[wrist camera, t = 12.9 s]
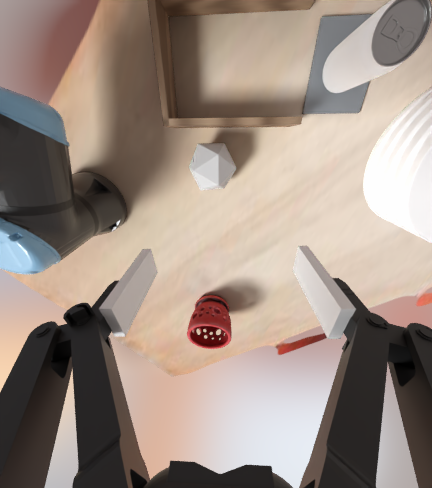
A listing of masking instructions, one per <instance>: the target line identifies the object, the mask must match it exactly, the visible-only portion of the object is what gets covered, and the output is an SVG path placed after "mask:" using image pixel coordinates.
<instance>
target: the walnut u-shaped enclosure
mask: <svg viewBox="0 0 432 488" xmlns="http://www.w3.org/2000/svg"><path fill="white" fill-rule="evenodd" d="M314 1H315V0H148V8H149V16H150V23H151V31H152V39H153V47H154V54H155V62H156V70H157V78H158V85H159V93H160V101H161V109H162V116H163V124H164V126H167V127H172V128H213V127H290V126H294V125H299V124H301V121H302V117H240V118H178V114H177V104H176V93H175V83H174V72H173V61H172V51H171V40H170V29H169V19H168V16H187V15H207V14H227V13H247V12H267V11H287V10H307V9H310V7H311V6H312V4H313V2H314Z"/></svg>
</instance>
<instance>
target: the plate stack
mask: <svg viewBox="0 0 432 488" xmlns="http://www.w3.org/2000/svg"><path fill="white" fill-rule="evenodd" d="M363 187H364V195H365V198H366V201H367V203H368V205H369V207H370V208H371V209H372V211H373V212H374V213H376V214H377V215H378V216H380V217H381V218H383V219H385V220H387V221H389V222H391V223H393V224H395V225H397V226H399V227H401V228H403V229H405V230H407V231H409V232H411V233H413V234H415V235H417V236H419V237H421V238H422V239H424V240H426V241H428V242H431V243H432V87H431V88H429V89H428V90H426V91H425V92H424V93H422V94H421V95H420V96H418V97H417V98H416V99H415V100H413V101H412V102H411V103H410V104H409V105H408V106H407V107H405V108H404V109H403V110H402V111H401V112H400V113H399V114H398V115H397V117H396V118H395V119H394V120H393V121H392V122H391V123H390V125H389V126H388V127H387V128H386V130H385V131H384V132H383V134H382V135H381V137H380V138H379V140H378V142H377V143H376V145H375V147H374V149H373V151H372V153H371V155H370V157H369V160H368V163H367V166H366V169H365V174H364V182H363Z"/></svg>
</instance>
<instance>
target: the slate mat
mask: <svg viewBox="0 0 432 488" xmlns="http://www.w3.org/2000/svg"><path fill="white" fill-rule="evenodd" d="M372 15H373V14H367V15H346V16H325V17H322V18H321V21H320V26H319V31H318V36H317V41H316V46H315V51H314V57H313V62H312V67H311V72H310V77H309V82H308V88H307V93H306V98H305V103H304V108H303V113H302V114H325V113H359V112H360V109H361V106H362V103H363V100H364V97H365V94H366V90H367V87H368V84H369V81H368V82H366V83H363V84H361V85H358V86H356V87H354V88H351V89H349V90H346V91H344V92H341V93H332V92H330V91H328V90H327V89H326V87H325V86H324V83H323V77H322V74H323V68H324V64H325V62H326V60H327V58H328V56H329V55H330V53H331V52H332V51H333V50H334V48H335V47H337V46H338V45H339V44H340V43H341V42H342V41H343V40H344V39H345V38H347V37H348V36H349V35H350V34H351V33H352V32H353V31H355V30H356V29H357V28H358V27H359V26H360V25H361V24H363V23H364V22H365V21H366V20H367V19H368V18H369V17H371V16H372Z"/></svg>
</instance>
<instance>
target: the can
mask: <svg viewBox="0 0 432 488" xmlns="http://www.w3.org/2000/svg"><path fill="white" fill-rule="evenodd" d="M431 18H432V6H431V2H430V0H391V1H389V2H388V3H386V4H385V5H384V6H382V7H381V8H380V9H379V10H378V11H376V12H375V13H374V14H373V15H372V16H371V17H369V18H368V19H367V20H366V21H365V22H364V23H363V24H361V25H360V26H359V27H358V28H357V29H356V30H355V31H353V32H352V33H351V34H350V35H349V36H348V37H347V38H345V39H344V40H343V41H342V42H341V43H340V44H339V45H338V46H337V47H335V48H334V50H333V51H332V52H331V53H330V55H329V56H328V58H327V60H326V62H325V64H324V68H323V74H322V77H323V83H324V86H325V87H326V89H327V90H328V91H330V92H332V93H341V92H344V91H346V90H349V89H351V88H354V87H356V86H358V85H361V84H363V83H366V82H368V81H370V80H373V79H375V78H377V77H380V76H382V75H384V74H386V73H388V72H390V71H392V70H393V69H395V68H396V67H398V66H399V65H400V64H401V63H402V62H403V61H405V60H406V59H407V58H409V57H410V56H411V55H412V54H413V53H414V52H415V51H416V50H417V48H418V47H419V46H420V44H421V43H422V41H423V40H424V38H425V36H426V34H427V32H428V29H429V26H430V23H431Z"/></svg>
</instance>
